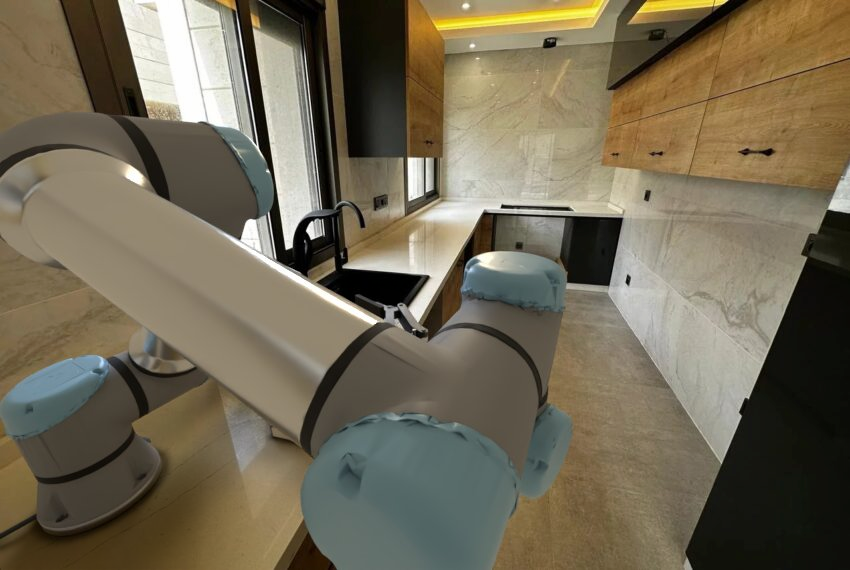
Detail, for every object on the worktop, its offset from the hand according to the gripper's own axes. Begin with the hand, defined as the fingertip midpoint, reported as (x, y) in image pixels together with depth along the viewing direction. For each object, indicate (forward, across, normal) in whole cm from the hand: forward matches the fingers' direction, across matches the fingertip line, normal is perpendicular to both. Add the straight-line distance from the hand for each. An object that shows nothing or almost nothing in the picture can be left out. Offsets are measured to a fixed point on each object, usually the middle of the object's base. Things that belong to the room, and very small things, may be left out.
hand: (319, 315), depth 49 cm
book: (+15, +3, -31) cm, 35 cm away
